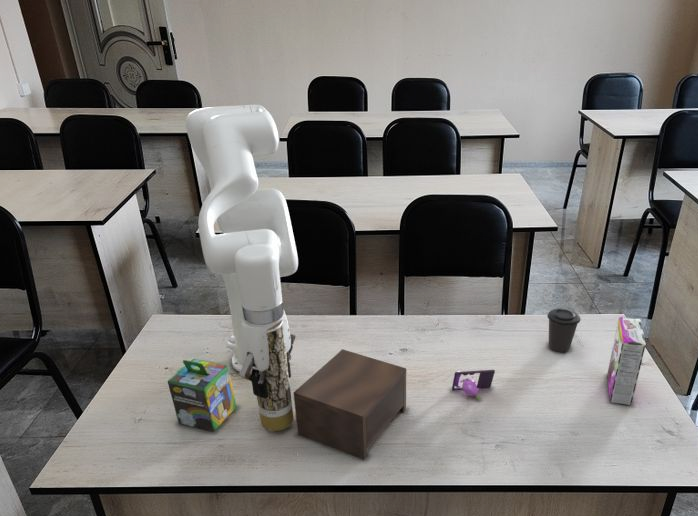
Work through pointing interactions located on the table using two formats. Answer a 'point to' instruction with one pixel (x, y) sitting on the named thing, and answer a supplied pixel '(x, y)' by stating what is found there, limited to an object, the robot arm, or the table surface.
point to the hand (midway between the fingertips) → (272, 385)
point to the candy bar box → (625, 360)
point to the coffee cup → (562, 329)
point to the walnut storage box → (350, 402)
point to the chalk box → (202, 394)
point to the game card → (469, 384)
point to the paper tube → (276, 384)
